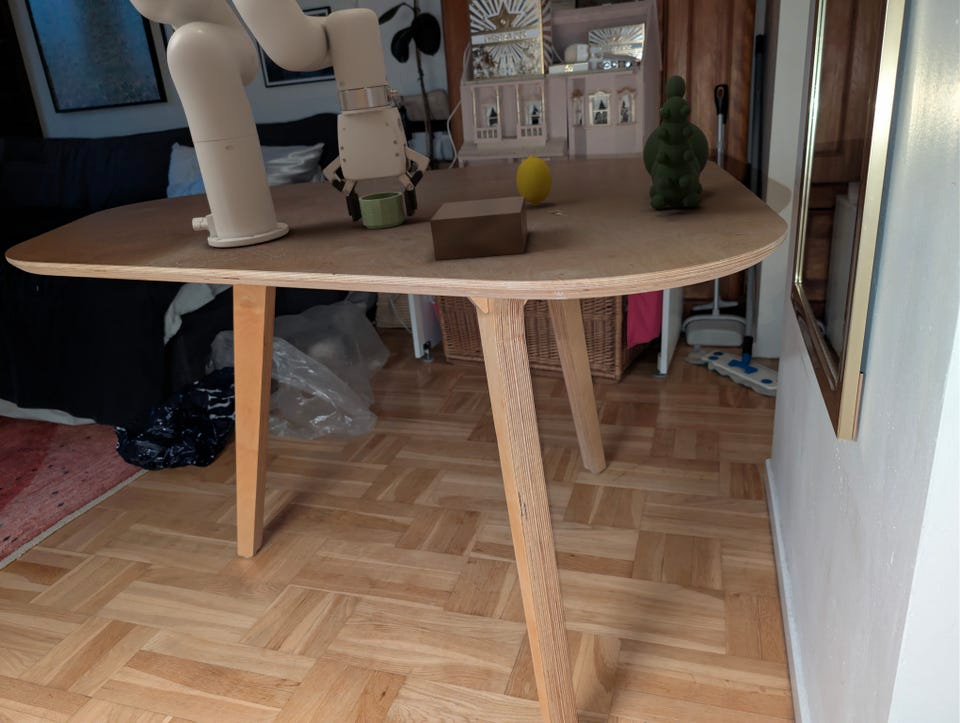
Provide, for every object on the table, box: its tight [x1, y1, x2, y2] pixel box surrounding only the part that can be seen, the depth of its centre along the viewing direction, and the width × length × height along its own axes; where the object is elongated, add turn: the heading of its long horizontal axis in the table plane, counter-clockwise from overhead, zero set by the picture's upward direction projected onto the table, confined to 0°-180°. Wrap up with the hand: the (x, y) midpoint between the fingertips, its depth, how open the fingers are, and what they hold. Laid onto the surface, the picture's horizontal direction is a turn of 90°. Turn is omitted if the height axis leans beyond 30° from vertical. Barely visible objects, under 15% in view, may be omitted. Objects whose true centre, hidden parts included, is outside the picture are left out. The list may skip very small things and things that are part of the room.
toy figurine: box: [643, 74, 710, 210], centre depth 100 cm, size 9×19×25 cm
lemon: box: [515, 154, 552, 207], centre depth 111 cm, size 6×6×8 cm
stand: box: [429, 196, 528, 261], centre depth 90 cm, size 11×11×5 cm
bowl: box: [358, 191, 406, 230], centre depth 111 cm, size 7×7×4 cm
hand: (384, 217), depth 111 cm, fingers open, 8 cm apart
